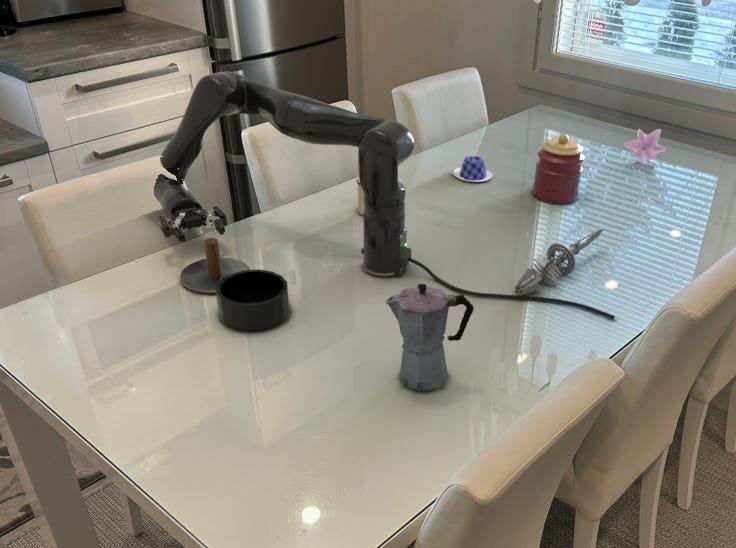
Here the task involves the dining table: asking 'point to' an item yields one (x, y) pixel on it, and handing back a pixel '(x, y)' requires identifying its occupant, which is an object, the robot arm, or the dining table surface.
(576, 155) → the kitchen canister
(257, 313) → the pan
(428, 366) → the moka pot
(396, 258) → the robot arm
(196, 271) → the lid
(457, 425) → the dining table surface
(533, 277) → the spaceship
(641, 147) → the lily
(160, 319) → the dining table surface
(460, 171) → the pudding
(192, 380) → the dining table surface
